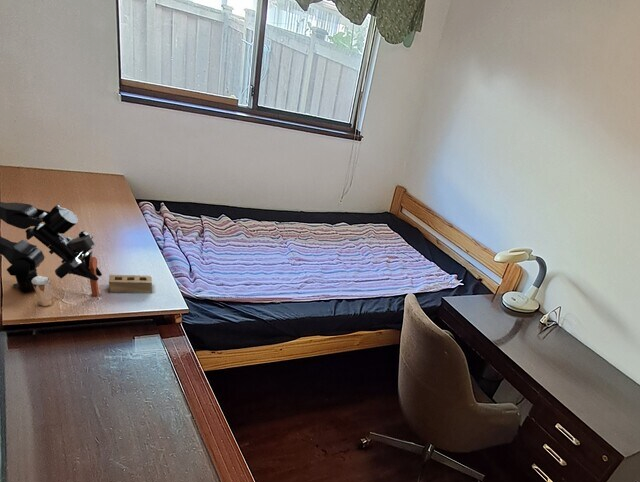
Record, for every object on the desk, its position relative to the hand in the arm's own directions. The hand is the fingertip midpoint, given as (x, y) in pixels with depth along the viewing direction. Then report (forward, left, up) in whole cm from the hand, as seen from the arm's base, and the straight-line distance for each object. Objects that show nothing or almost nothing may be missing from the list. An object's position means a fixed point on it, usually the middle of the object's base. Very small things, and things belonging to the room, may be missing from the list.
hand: (99, 277), depth 149 cm
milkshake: (-4, -15, -7) cm, 17 cm away
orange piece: (-1, -1, -7) cm, 7 cm away
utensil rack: (+1, +10, -7) cm, 12 cm away
